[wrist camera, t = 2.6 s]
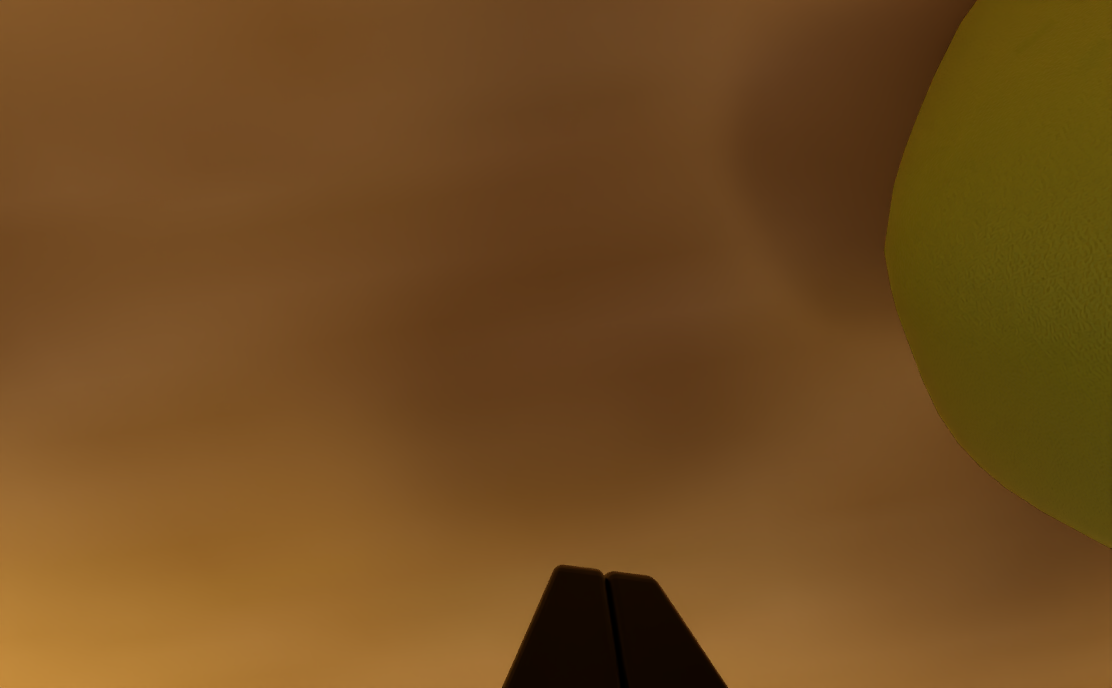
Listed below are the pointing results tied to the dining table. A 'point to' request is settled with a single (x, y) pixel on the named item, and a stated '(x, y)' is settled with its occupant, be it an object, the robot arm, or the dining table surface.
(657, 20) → the dining table surface
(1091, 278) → the dumbbell
